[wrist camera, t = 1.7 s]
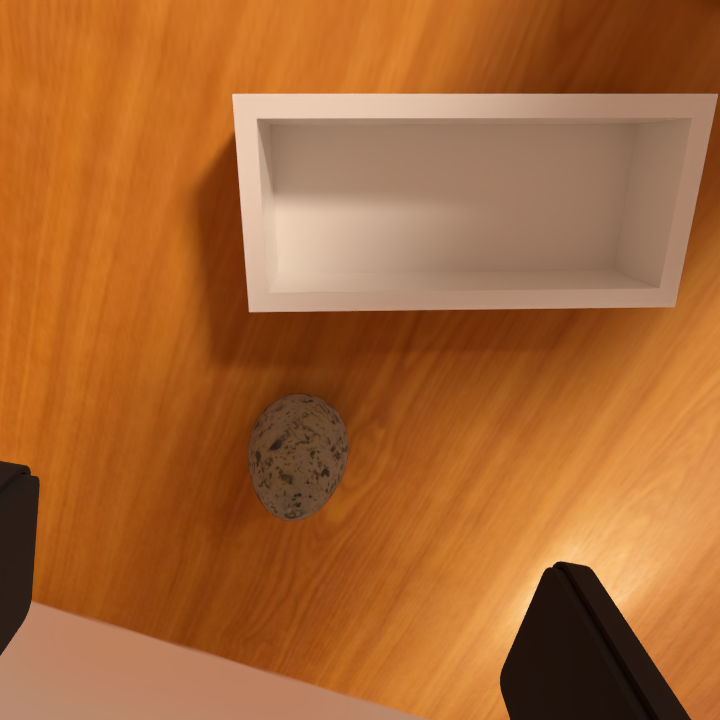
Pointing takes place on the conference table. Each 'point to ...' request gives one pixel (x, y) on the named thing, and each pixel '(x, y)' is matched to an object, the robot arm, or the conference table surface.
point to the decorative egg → (297, 455)
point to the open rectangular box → (467, 199)
